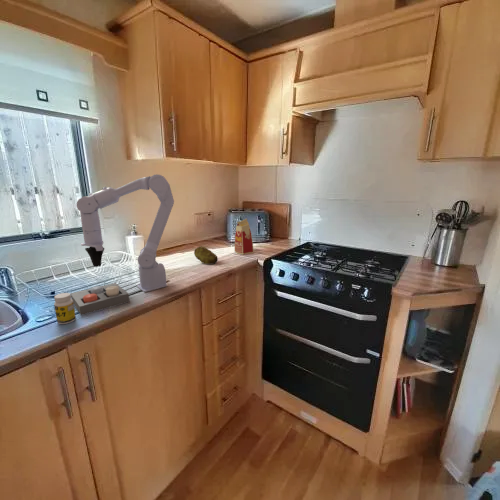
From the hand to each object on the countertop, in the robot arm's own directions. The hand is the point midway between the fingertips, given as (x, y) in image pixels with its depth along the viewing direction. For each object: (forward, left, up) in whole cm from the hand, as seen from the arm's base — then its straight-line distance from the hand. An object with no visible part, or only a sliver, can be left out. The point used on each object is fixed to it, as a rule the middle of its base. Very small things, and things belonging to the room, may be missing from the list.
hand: (97, 266), depth 102 cm
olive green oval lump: (-51, -5, -11) cm, 52 cm away
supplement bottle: (+14, +17, -11) cm, 24 cm away
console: (+3, +9, -10) cm, 14 cm away
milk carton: (-79, -7, -11) cm, 80 cm away
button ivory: (-1, +12, -9) cm, 15 cm away
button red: (+6, +12, -9) cm, 16 cm away
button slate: (+2, +6, -10) cm, 12 cm away
